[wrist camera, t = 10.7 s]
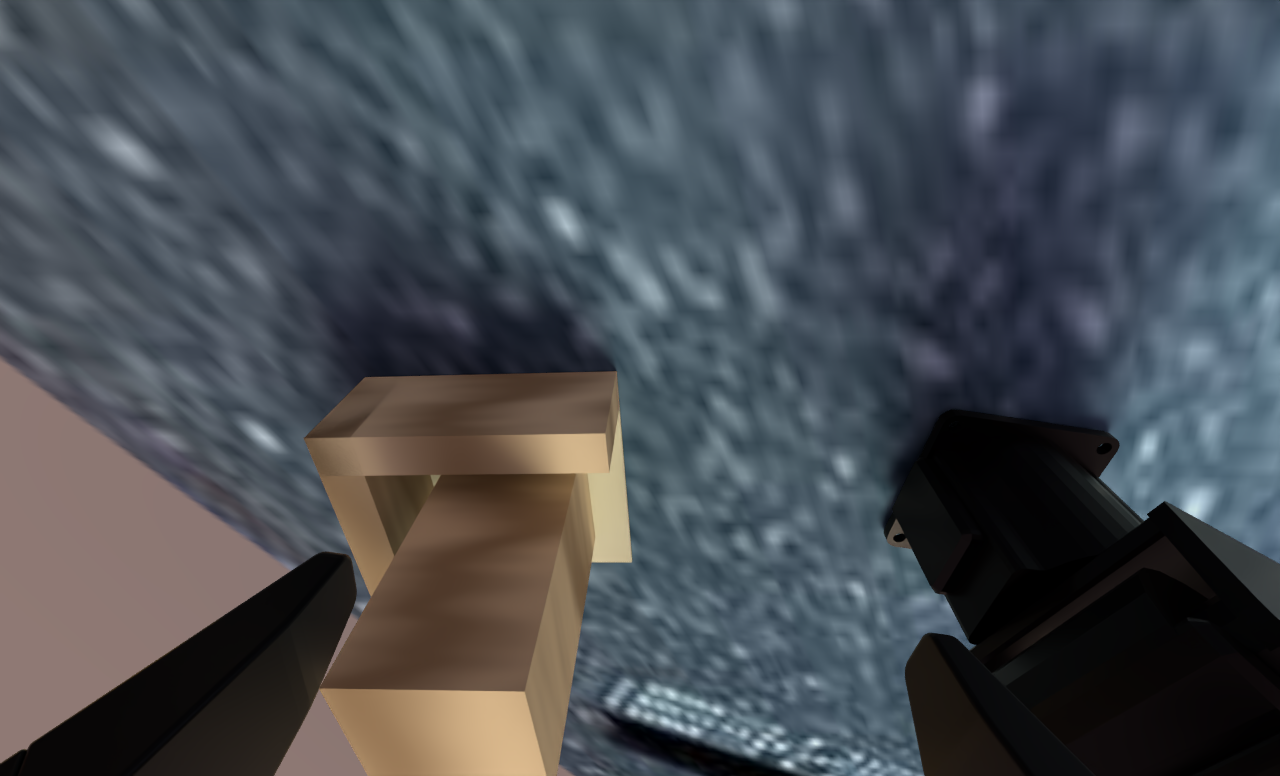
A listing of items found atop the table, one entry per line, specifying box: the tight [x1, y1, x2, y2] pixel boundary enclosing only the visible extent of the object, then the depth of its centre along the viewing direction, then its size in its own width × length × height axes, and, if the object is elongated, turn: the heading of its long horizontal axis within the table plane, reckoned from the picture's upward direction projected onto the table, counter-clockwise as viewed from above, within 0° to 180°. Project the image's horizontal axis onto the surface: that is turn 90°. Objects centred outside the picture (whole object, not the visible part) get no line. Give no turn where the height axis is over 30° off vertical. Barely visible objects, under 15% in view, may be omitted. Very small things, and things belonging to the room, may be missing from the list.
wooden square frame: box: [304, 371, 632, 597], centre depth 21 cm, size 10×10×4 cm
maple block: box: [319, 473, 595, 776], centre depth 19 cm, size 5×5×10 cm
